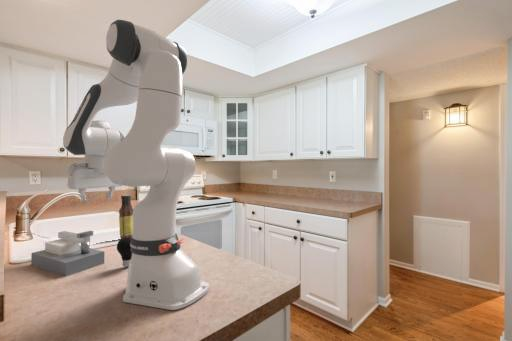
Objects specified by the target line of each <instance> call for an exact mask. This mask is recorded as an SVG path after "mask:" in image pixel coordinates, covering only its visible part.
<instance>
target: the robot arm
mask: <svg viewBox="0 0 512 341" xmlns="http://www.w3.org/2000/svg"><path fill="white" fill-rule="evenodd" d="M106 32H107V33H106V38H105V39H106V40H105V42H106V49H107V52H108V54H109V55H110V56H111V58H112V61H111V63H110V66H109V70H108V72H107V75H106V76H105V77H104V78H103V79H102V80H101V81H100V82H99V83H96V84H93V85H91V87H90V88H89V89H88V90H87V92H86V93H85V96H84V97H83V99H82V102H81V104H79V105H80V106H79V107H78V109H77V111H76V113H75V115H74V117H73V119H72V121H70V122H71V123H70V124H69V125H68V126H67V128H66V129H65V131H64V133H63V138H62V141H63V142H62V143H63V147H64V148H65V149H66V150H67V151H68V153H71V154H72V155H73V156H83V155H84V163H83V162H81V163H78V162H77V163H76V162H75V163H74V162H73V164H70V165H69V167H68V178H67V188H69V189H70V190H78V191H77V192H78V193H79V195H80V196H81V201H82V202H86V201H87V202H88V201H89V197H90V196H89V195H86V192H87V189H99V188H108V192H107V193H106V194H105V198H106V199H112V198H113V193H114V192H115V189H116V187H122V186H125V187H134V188H136V187H147V186H149V190H148V192H147V194H146V195H145V197H144V198H143V199H142V200H141V201H139V202H138V203H136V205H135V206H134V208H133V237H131V243H130V246H131V252H132V257H131V261H130V264H129V267H127V268H128V269H127V270H128V271H127V277H126V278H127V280H126V288H125V291H124V292H125V293H124V294H123V296H122V302H123V303H126V304H127V303H128V304H135V305H141V306H146V307H151V308H159V309H163V310H170V311H176V310H180V309H182V308H185V307H189V305H192V304H194V303H195V302H196V301H198V300H200V299H201V298H202V297H204V296H205V295H206V294H207V293H208V292H209V290H210V284H209V282H206V281H204V280H201V271H200V268H199V266H198V265H197V263H196V262H194V261H193V260H192V259H191V258H190V256H188V254H186V253H185V251H183V249H182V247H181V244H183V243H184V242H183V240H184V238H181V239H179V237H178V234H177V233H176V229H177V228H176V226H177V224H176V223H177V222H176V221H177V207H178V203H179V199H180V195H181V194H182V192H183V189H184V188H185V186H186V184H187V183H188V182H189V181H190V180H191V179H192V178H193V177H194V174H195V172H196V167H197V164H196V160H195V158H194V155H193V154H192V153H191V152H190V151H188V150H186V149H183V148H178V147H176V146H166V145H165V146H164V145H163V143H164V140H165V138H166V136H167V135H168V134H169V133H170V132H171V133H172V132H173V131H175V130H176V129H177V128H178V127H179V125H180V123H181V114H182V113H181V112H182V102H183V101H182V99H183V75H184V73H185V72H186V70H187V67H188V61H189V59H188V53H187V50H186V49H185V48H184V47H183V46H182V45H181V44H179V43H177V41H172V39H171V40H170V39H169V38H167V37H165V36H163V35H162V34H159V33H157V32H156V31H154V30H152V29H149V28H147V27H144V26H141V25H137V24H134V23H133V22H132V21H128V20H125V19H124V20H123V19H115V20H114V21H113V22H112V23H111V24H110V25H109V28H108V29H107V31H106ZM136 102H137V103H136ZM134 103H136V108H135V109H136V110H135V116H134V119H133V123H132V125H131V128H130V129H129V131H128V132H127V134H126V135H125V136H124V135H123V133H122V132H121V131H119V130H116V129H115V128H112V127H111V124H110V123H109V122H107V121H105V120H94V119H95V118H96V115H97V114H98V113H99V112H100V111H102V110H104V109H108V108H113V107H119V106H128V105H133V104H134Z"/></svg>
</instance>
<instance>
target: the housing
mask: <svg viewBox="0 0 512 341" xmlns="http://www.w3.org/2000/svg"><path fill="white" fill-rule="evenodd" d="M103 264H105V251H103V250H99V249H95V248H91V247H89V253H87V254H81V245H79V250H78V251H74V252H71V253H67V254H63V255H57V254H53V253H50V252H46V251H45V249H41V250H38V251H34V252H31V266H34V267H37V268H39V269H43V270H46V271H49V272H53V273H54V274H59V275H61V276H64V277H67V276H72V275H73V274H77V273H81V272H83V271H86V270H89V269H91V268H94V267H97V266H100V265H103Z"/></svg>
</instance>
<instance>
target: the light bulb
mask: <svg viewBox="0 0 512 341" xmlns="http://www.w3.org/2000/svg"><path fill="white" fill-rule="evenodd" d="M130 243H131V237H124V238H122V239H121V238H120V240H118V242H117V244H116V250H117V252H118V253H119V255H120V256H121V260H122V266H123V267H125V268H129V264H130V261H131V257H132V252H131V246H130Z"/></svg>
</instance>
